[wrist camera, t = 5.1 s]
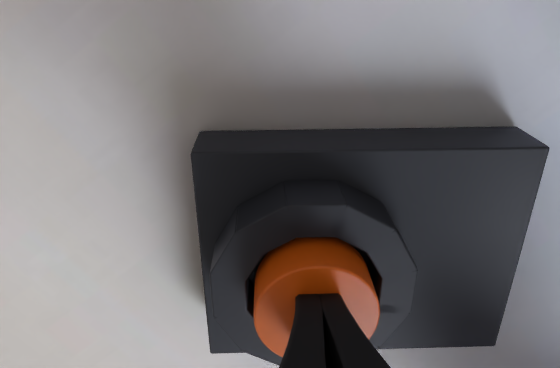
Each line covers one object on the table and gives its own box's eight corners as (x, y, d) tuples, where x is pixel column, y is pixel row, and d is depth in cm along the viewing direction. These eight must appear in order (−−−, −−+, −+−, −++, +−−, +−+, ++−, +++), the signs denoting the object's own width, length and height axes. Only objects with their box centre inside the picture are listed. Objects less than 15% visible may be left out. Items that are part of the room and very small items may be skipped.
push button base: (517, 126, 17) (585, 168, 13) (473, 310, 21) (517, 382, 17) (199, 130, 17) (180, 175, 13) (215, 317, 20) (205, 391, 17)
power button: (373, 231, 15) (386, 264, 13) (363, 323, 17) (374, 363, 15) (253, 234, 15) (251, 268, 13) (256, 326, 16) (255, 366, 15)
